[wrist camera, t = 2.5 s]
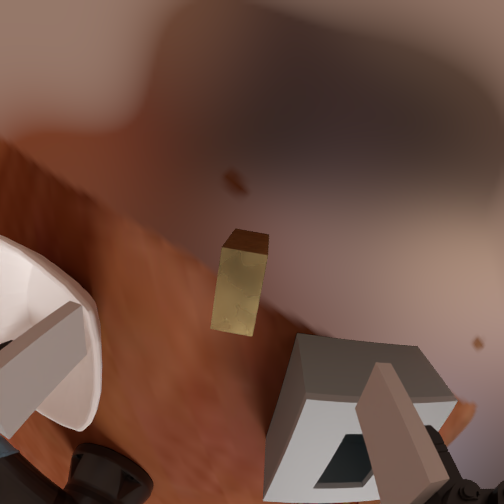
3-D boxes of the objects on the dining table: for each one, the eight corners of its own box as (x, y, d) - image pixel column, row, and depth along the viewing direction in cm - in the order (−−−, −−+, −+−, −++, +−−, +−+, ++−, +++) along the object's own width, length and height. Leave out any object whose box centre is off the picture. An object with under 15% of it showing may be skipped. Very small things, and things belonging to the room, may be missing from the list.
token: (225, 291, 28) (210, 328, 21) (235, 228, 27) (221, 247, 19) (257, 297, 28) (252, 336, 21) (268, 234, 27) (268, 255, 19)
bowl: (121, 405, 33) (94, 448, 25) (9, 334, 32) (-27, 359, 24) (154, 268, 28) (113, 301, 20) (15, 200, 28) (-36, 209, 19)
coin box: (265, 437, 33) (262, 500, 23) (297, 332, 29) (306, 399, 19) (367, 442, 32) (383, 498, 23) (417, 346, 28) (457, 400, 19)
